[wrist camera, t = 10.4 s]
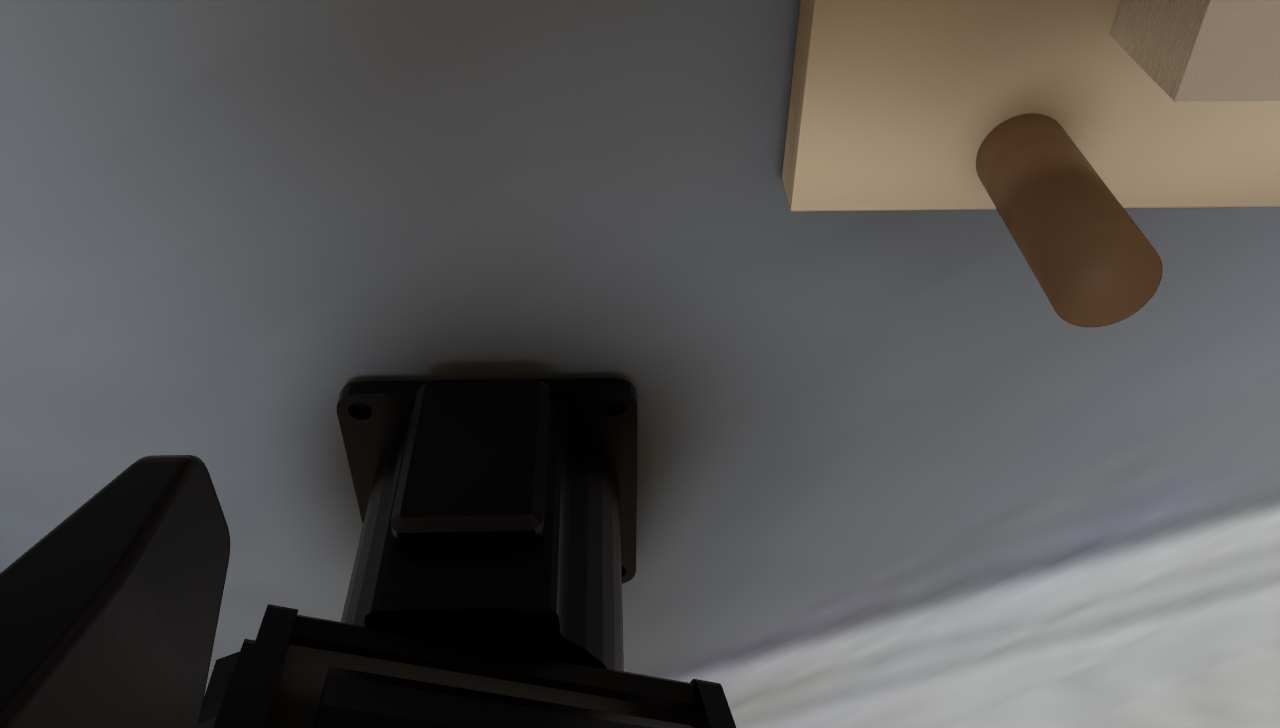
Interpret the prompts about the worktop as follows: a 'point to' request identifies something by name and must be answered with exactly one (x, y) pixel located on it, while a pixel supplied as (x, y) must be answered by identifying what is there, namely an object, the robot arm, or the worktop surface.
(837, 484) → the worktop surface
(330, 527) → the worktop surface
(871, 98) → the peg board
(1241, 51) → the beige stepped post
